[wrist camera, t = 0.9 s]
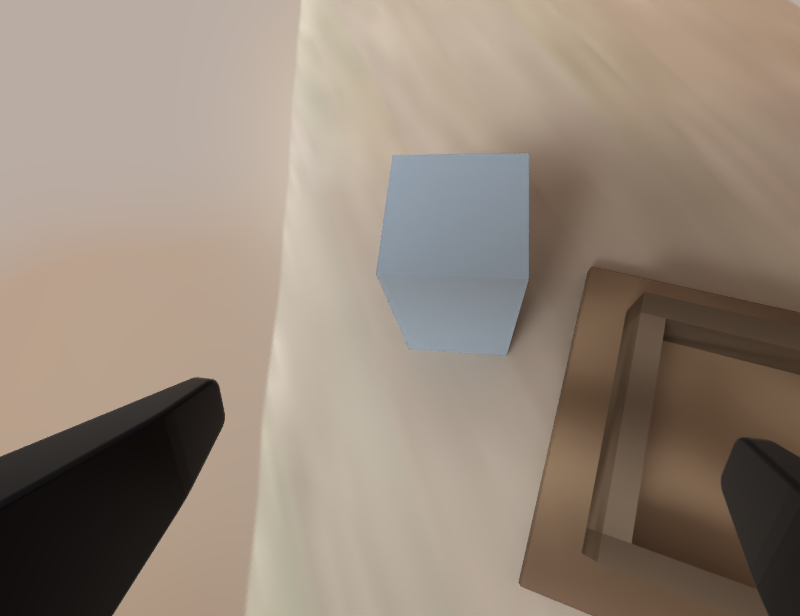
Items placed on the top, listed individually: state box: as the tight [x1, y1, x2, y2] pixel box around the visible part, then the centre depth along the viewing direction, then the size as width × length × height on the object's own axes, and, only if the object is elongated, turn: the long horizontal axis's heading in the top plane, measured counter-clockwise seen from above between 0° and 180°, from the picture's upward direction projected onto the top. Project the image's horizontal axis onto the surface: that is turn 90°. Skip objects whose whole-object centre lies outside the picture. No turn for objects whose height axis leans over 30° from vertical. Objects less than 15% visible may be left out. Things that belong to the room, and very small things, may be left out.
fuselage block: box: [376, 153, 529, 356], centre depth 20 cm, size 5×5×9 cm
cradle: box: [519, 267, 800, 616], centre depth 18 cm, size 15×15×3 cm
